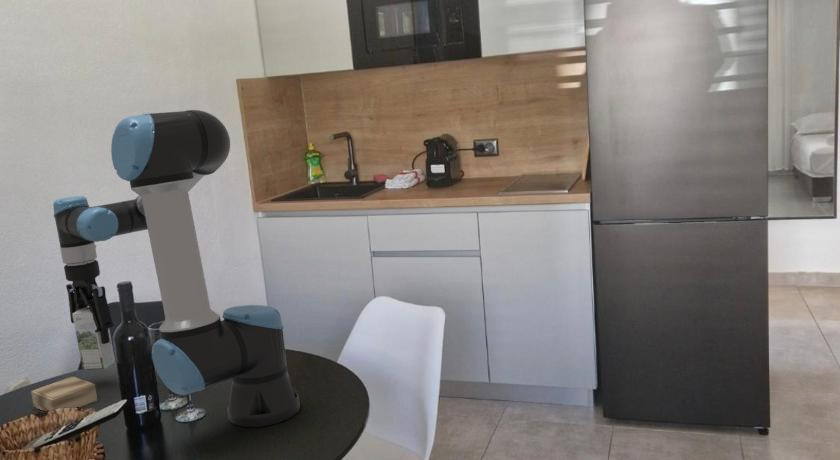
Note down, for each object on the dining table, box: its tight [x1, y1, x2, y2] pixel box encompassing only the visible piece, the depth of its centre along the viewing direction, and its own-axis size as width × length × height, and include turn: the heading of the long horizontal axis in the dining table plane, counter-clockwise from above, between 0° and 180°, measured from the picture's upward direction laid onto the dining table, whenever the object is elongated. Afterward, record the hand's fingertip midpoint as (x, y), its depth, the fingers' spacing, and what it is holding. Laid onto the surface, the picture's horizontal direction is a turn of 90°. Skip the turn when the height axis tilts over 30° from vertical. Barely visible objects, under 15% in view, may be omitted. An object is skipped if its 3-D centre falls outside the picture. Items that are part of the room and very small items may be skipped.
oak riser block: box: [30, 376, 98, 411], centre depth 177 cm, size 10×10×4 cm
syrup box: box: [73, 307, 116, 371], centre depth 185 cm, size 6×6×14 cm
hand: (96, 353), depth 186 cm, fingers closed on syrup box, 8 cm apart
